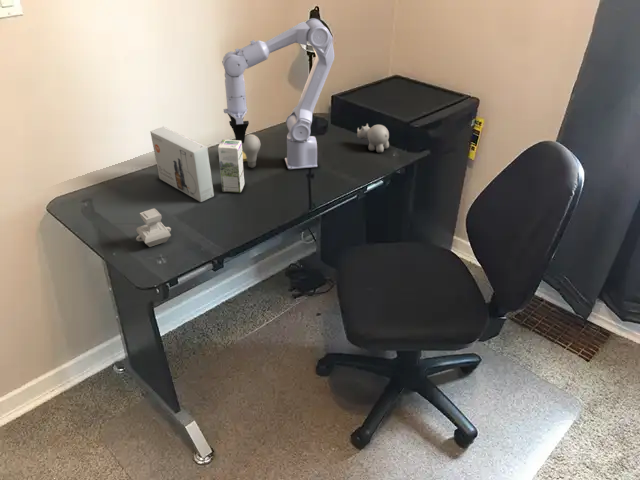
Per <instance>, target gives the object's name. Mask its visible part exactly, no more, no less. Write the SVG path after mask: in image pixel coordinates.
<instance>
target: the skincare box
mask: <svg viewBox="0 0 640 480" xmlns="http://www.w3.org/2000/svg"><path fill="white" fill-rule="evenodd" d="M149 132H150V137H151V141H152V148H153V152H154V157H155V162H156V168H157V175H158V178H159V180H161V181H163V182H164V183H166V184H168V185H170V186H172V187H173V188H175V189H177V190H178V191H180V192H182V193H184V194H185V195H187V196H189V197H191V198H193V199H194V200H196V201H198V202H199V203H202V202H204V201H207V200H208V199H211V198H213V197H214V196H215V192H214V186H213V180H212V178H213V177H212V170H211V165H210V157H209V149H208V146H206V145H204V144H202V143H201V142H197V141H196V140H193V139H192V138H189V137H187V136H185V135H183V134H181V133H179V132H177V131H174V130H173V129H170V128H168V127H166V126H161V127H158V128H155V129H153V130H150V131H149Z"/></svg>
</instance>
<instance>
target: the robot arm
mask: <svg viewBox="0 0 640 480" xmlns="http://www.w3.org/2000/svg"><path fill="white" fill-rule="evenodd" d="M333 40H334V38H333V36H332V34H331V32H330V30H329V29H328V27H326V26H325V25H324V24H323V23H322V21H321V20H319V19H318V18H308V19H307V20H306V21H302V22H299V23H297V24H296V25H294V26H292V27H290V28H288V29H287V30H285V31H282V32H281V33H279V34H277V35H275V36H273V37H272V38H270V39H268V40H266V41H262V40H260V39H258V40H255V39H252V40H250V41H249V44H247V45H244V46H243V47H241V48H239V47H237V48H235V49H234V50H235V51H228V52H227V53H225V54H224V55H223V58H222V66H223V69H224V85H225V99H226V108H223V114H227V115H228V117H229V119H230V120H229V122H228V123H229V126H230V127H231V129H232V132H233V134H234V137H235V140H240V141H241V142H242V143H244V141H245V136H246V132H247V129H248V127H249V124H250V122H249V120H244V118H245V116H246V115H247V113H248V107H247V95H246V94H247V93H246V80H245V77H244V75H245V74H244V72H245V71H246V69H247V70H248V69H250V68H252V67H254V66H257V65H258V64H261V63H263V62H265V61H267V60H268V59H269V57H270V54H271V53H274V52H276V51H279V50H281V49H283V48H286V47H288V46H291V45H293V44H299V45H303V46H307V45H308V43H309V45H310V46H311V47H312V50H313V52H314V54H315V58H314V61H313V65H312V66H311V69H310V72H309V74H308V77H307V80H306V82H305V84H304V87H303V90H302V93H301V95H300V97H299V100H298V102H297V104H296V105H295V106H294V107H293V109H292V111H291V113H290V114H289V115H287V117H286V119H285V126H286V128H287V130H288V133H287V134H286V157H285V158H284V162H285V165H286V167H287V169H288V170H299V169H300V170H301V169H310V168H318V144H317V143H318V142H317V138H316V136H315V135H311V127H312V123H313V114H314V110H315V109H316V108H315V107H316V105H317V103H318V101H319V99H320V95H321V93H322V90H323V88H324V86H325V83H326V80H327V78H328V76H329V73H330V71H331V68H332V66H333V63H334V61H335V57H336V55H335V48H334V42H333Z"/></svg>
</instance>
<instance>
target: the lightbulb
mask: <svg viewBox="0 0 640 480" xmlns="http://www.w3.org/2000/svg"><path fill="white" fill-rule="evenodd" d="M261 146H262V145H261V140H260V138H259V137H258V136H257V135H255V134H251V133H249V134H245V141H244V143H242V151H243V152H244V153H245V155H246V158H247V161H246V162H247V166H248V168H251V169H254V168H255V167H256V166H257V159H258V158H257V157H258V154H259V152H260V149H261Z"/></svg>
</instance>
